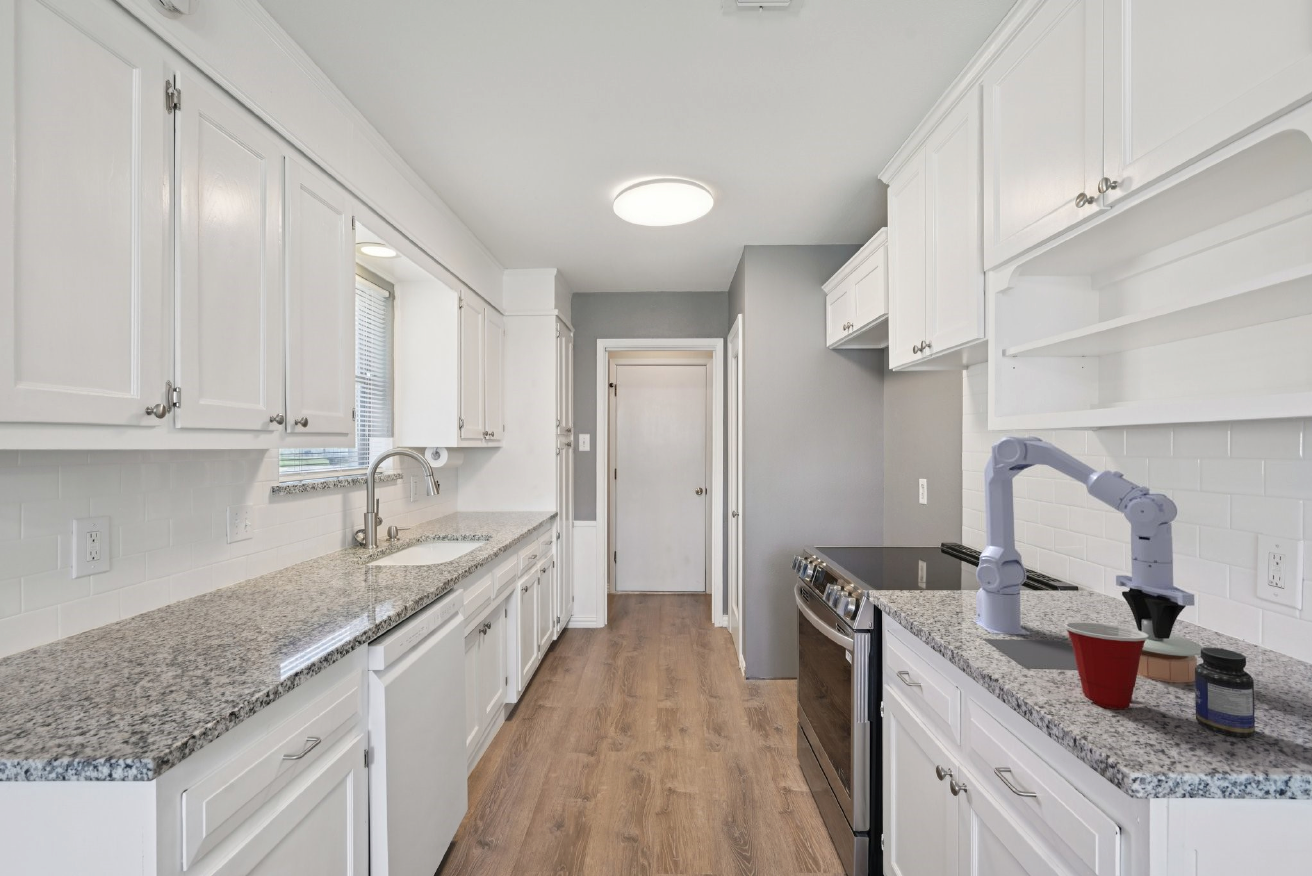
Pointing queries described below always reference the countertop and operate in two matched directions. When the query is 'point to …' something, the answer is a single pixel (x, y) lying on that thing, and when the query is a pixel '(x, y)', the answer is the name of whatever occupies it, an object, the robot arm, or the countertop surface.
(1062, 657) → the mat
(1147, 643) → the lid
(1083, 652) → the plastic cup
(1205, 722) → the pill bottle
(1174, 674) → the bowl
